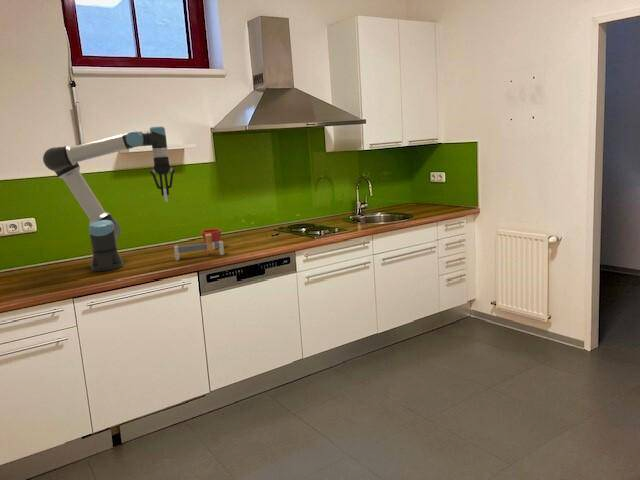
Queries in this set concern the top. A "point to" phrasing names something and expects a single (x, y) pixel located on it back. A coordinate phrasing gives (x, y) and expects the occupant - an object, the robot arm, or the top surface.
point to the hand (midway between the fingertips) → (166, 201)
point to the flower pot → (214, 232)
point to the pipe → (197, 248)
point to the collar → (209, 243)
